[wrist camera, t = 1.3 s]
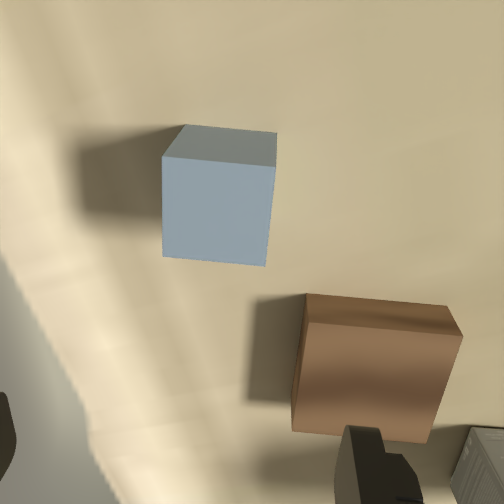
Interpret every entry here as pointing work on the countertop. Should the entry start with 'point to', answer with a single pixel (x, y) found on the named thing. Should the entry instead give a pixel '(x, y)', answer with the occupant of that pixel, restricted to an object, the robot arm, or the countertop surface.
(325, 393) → the walnut base
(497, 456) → the skincare box
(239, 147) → the blue block
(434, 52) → the countertop surface
